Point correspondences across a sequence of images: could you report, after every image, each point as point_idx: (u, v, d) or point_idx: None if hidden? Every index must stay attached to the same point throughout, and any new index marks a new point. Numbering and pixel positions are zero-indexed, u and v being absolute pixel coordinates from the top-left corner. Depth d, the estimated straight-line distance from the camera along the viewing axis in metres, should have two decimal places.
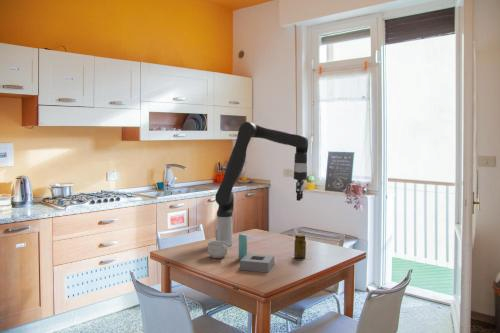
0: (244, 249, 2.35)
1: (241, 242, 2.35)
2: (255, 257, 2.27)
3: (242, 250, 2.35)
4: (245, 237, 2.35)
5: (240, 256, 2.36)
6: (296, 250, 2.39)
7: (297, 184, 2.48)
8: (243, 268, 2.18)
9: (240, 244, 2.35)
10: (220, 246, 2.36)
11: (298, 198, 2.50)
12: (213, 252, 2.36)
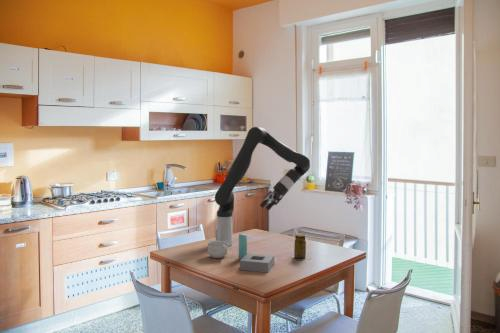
0: (244, 249, 2.35)
1: (241, 242, 2.35)
2: (255, 257, 2.27)
3: (242, 250, 2.35)
4: (245, 237, 2.35)
5: (240, 256, 2.36)
6: (296, 250, 2.39)
7: (279, 196, 2.35)
8: (243, 268, 2.18)
9: (240, 244, 2.35)
10: (220, 246, 2.36)
11: (269, 207, 2.35)
12: (213, 252, 2.36)
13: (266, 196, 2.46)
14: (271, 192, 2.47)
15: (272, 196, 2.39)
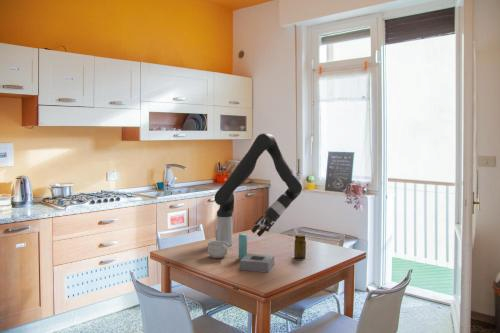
0: (244, 249, 2.35)
1: (241, 242, 2.35)
2: (255, 257, 2.27)
3: (242, 250, 2.35)
4: (245, 237, 2.35)
5: (240, 256, 2.36)
6: (296, 250, 2.39)
7: (271, 222, 2.34)
8: (243, 268, 2.18)
9: (240, 244, 2.35)
10: (220, 246, 2.36)
11: (260, 234, 2.35)
12: (213, 252, 2.36)
13: (258, 221, 2.46)
14: (263, 217, 2.46)
15: (263, 222, 2.38)
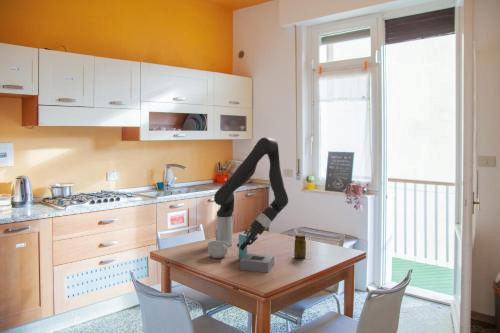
0: (244, 249, 2.35)
1: (241, 242, 2.35)
2: (255, 257, 2.27)
3: (242, 250, 2.35)
4: (245, 237, 2.35)
5: (240, 256, 2.36)
6: (296, 250, 2.39)
7: (254, 237, 2.32)
8: (243, 268, 2.18)
9: (240, 244, 2.35)
10: (220, 246, 2.36)
11: (243, 247, 2.34)
12: (213, 252, 2.36)
13: None
14: (247, 231, 2.44)
15: (248, 235, 2.36)
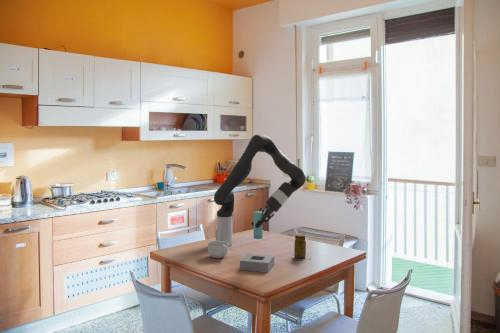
0: (259, 227, 2.21)
1: (256, 220, 2.20)
2: (255, 257, 2.27)
3: (257, 228, 2.20)
4: (260, 214, 2.21)
5: (255, 235, 2.21)
6: (296, 250, 2.39)
7: (270, 214, 2.17)
8: (243, 268, 2.18)
9: (255, 222, 2.21)
10: (220, 246, 2.36)
11: (258, 225, 2.19)
12: (213, 252, 2.36)
13: None
14: (262, 209, 2.29)
15: (263, 212, 2.21)
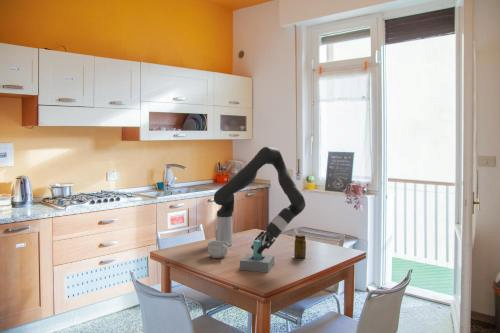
0: (259, 256, 2.21)
1: (256, 249, 2.21)
2: None
3: (257, 257, 2.21)
4: (260, 244, 2.21)
5: None
6: (296, 250, 2.39)
7: (272, 239, 2.18)
8: (243, 268, 2.18)
9: (255, 251, 2.21)
10: (220, 246, 2.36)
11: (260, 251, 2.18)
12: (213, 252, 2.36)
13: (258, 237, 2.29)
14: (263, 232, 2.29)
15: (264, 238, 2.21)
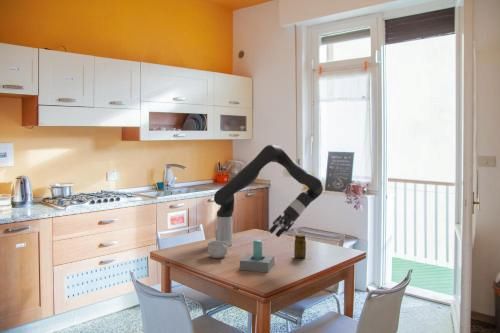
0: (259, 256, 2.21)
1: (256, 249, 2.21)
2: None
3: (257, 257, 2.21)
4: (260, 244, 2.21)
5: None
6: (296, 250, 2.39)
7: (290, 222, 2.21)
8: (243, 268, 2.18)
9: (255, 251, 2.21)
10: (220, 246, 2.36)
11: (279, 234, 2.21)
12: (213, 252, 2.36)
13: (275, 221, 2.32)
14: (281, 216, 2.33)
15: (282, 222, 2.24)
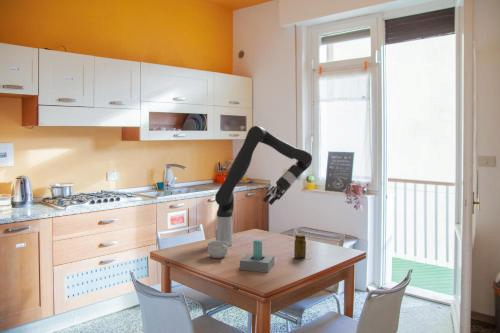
0: (259, 256, 2.21)
1: (256, 249, 2.21)
2: None
3: (257, 257, 2.21)
4: (260, 244, 2.21)
5: None
6: (296, 250, 2.39)
7: (282, 191, 2.40)
8: (243, 268, 2.18)
9: (255, 251, 2.21)
10: (220, 246, 2.36)
11: (271, 202, 2.40)
12: (213, 252, 2.36)
13: (269, 191, 2.51)
14: (274, 187, 2.52)
15: (275, 191, 2.44)
